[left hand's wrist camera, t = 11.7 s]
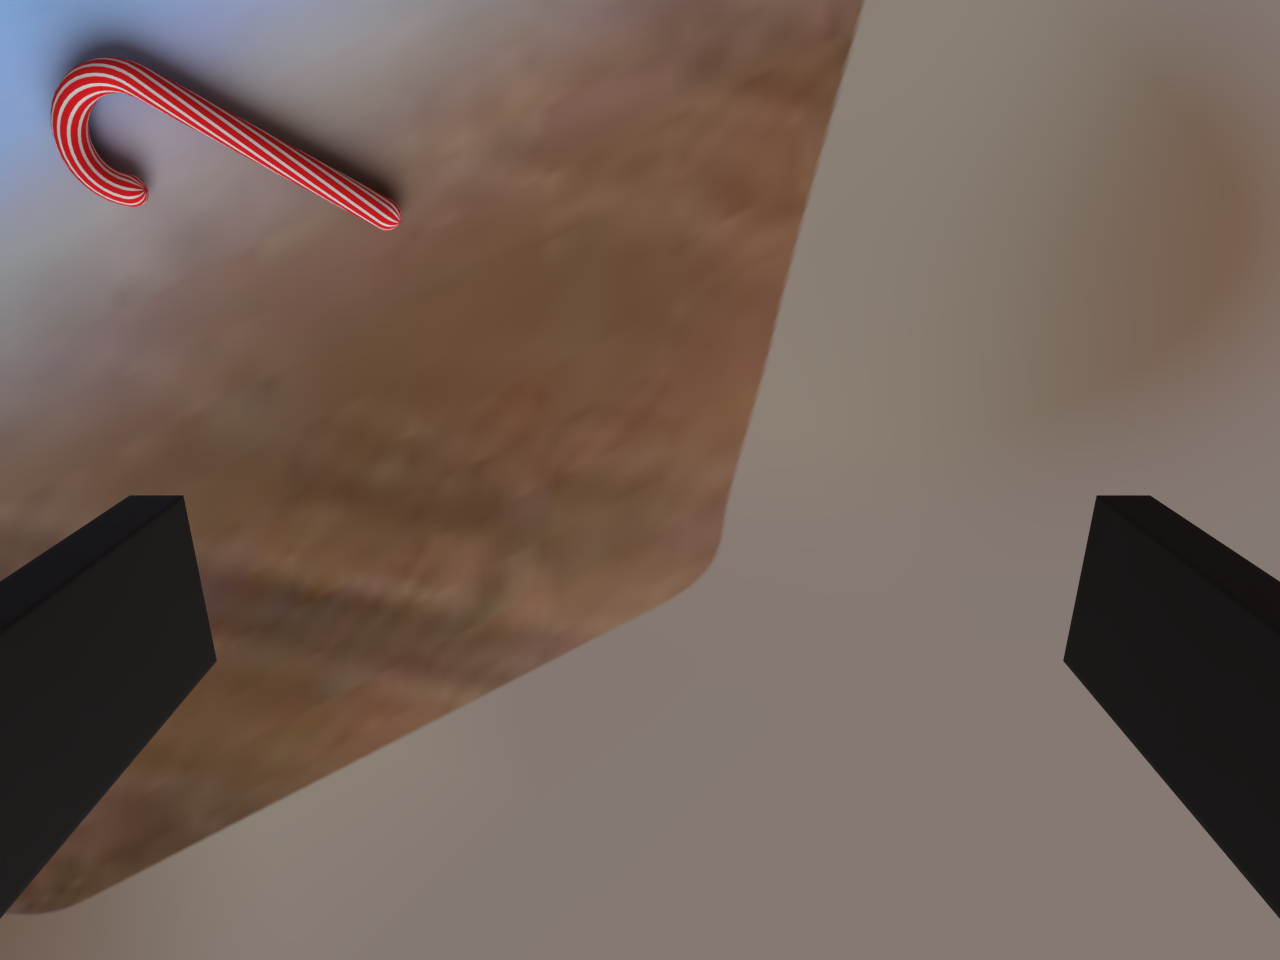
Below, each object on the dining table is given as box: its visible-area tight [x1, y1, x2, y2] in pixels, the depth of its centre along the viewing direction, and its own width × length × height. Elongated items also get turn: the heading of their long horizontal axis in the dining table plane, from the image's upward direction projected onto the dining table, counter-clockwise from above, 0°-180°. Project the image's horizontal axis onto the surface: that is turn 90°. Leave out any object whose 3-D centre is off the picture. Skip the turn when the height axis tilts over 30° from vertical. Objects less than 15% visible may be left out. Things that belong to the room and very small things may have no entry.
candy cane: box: [51, 57, 402, 230], centre depth 38 cm, size 6×15×2 cm, turn 62°
